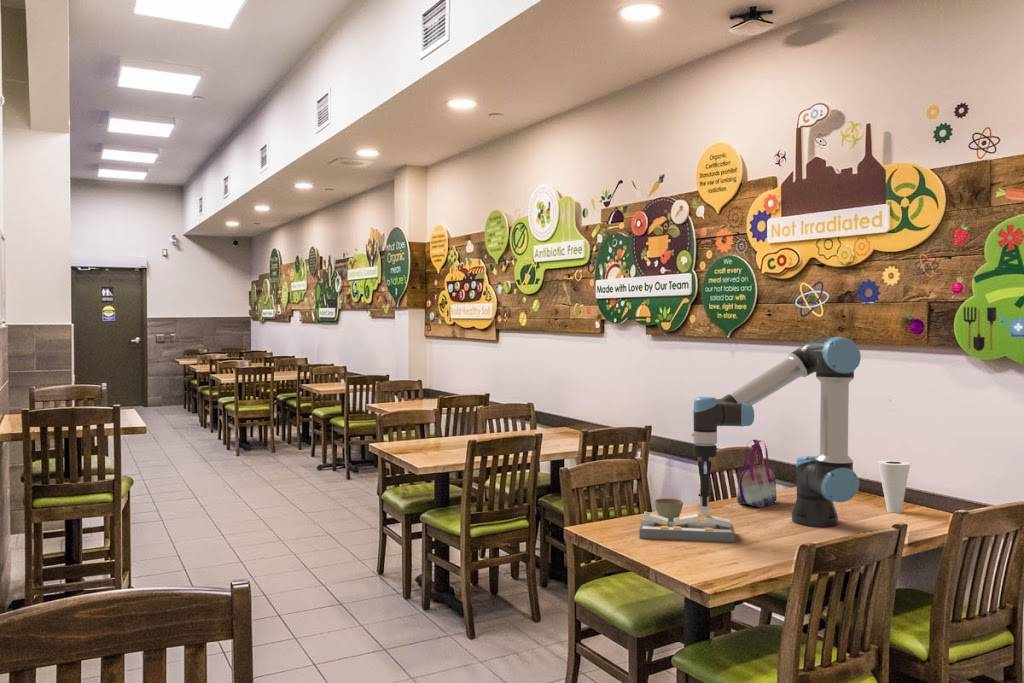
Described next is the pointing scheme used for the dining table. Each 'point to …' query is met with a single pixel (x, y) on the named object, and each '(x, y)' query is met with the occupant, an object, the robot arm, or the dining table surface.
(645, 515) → the rocker
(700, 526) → the switch unit
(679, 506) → the flower pot
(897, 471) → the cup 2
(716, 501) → the dining table surface
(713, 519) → the rocker
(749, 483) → the handbag
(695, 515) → the rocker
